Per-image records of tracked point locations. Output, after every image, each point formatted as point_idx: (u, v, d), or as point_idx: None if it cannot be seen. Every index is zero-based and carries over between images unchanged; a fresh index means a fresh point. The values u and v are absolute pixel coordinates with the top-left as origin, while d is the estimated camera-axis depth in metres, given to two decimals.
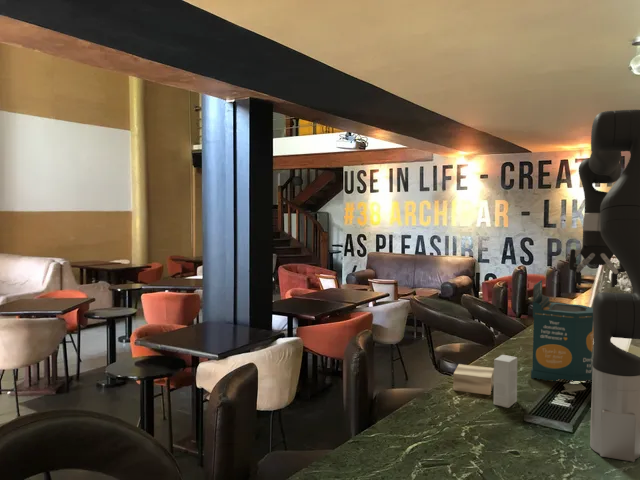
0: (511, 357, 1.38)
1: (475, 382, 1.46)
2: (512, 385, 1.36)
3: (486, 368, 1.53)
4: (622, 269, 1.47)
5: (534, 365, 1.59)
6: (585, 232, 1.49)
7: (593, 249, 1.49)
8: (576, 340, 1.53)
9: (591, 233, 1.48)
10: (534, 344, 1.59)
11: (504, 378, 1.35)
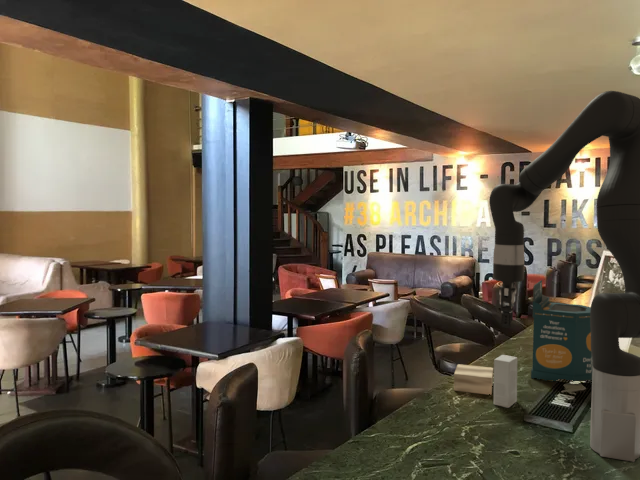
0: (511, 357, 1.38)
1: (476, 382, 1.46)
2: (512, 385, 1.36)
3: (486, 368, 1.53)
4: None
5: (534, 365, 1.59)
6: (515, 267, 1.33)
7: (512, 284, 1.35)
8: (576, 340, 1.53)
9: (521, 267, 1.33)
10: (534, 344, 1.59)
11: (504, 378, 1.35)
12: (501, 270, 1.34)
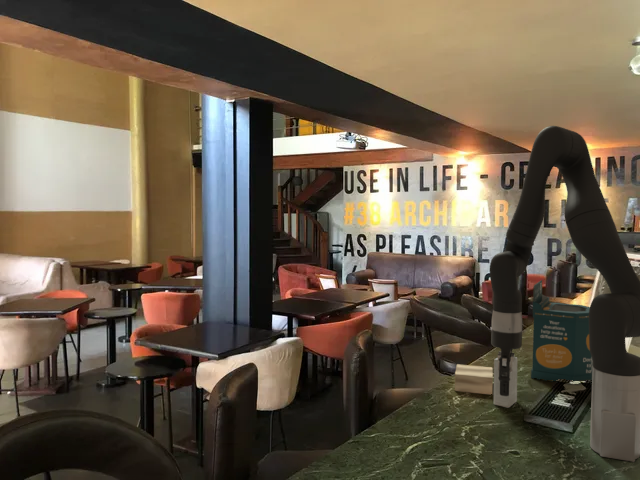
0: None
1: (477, 382, 1.46)
2: (512, 385, 1.36)
3: (485, 368, 1.53)
4: None
5: (534, 365, 1.59)
6: (513, 335, 1.34)
7: (510, 351, 1.36)
8: (576, 340, 1.53)
9: (519, 335, 1.34)
10: (534, 344, 1.59)
11: None
12: (500, 338, 1.35)
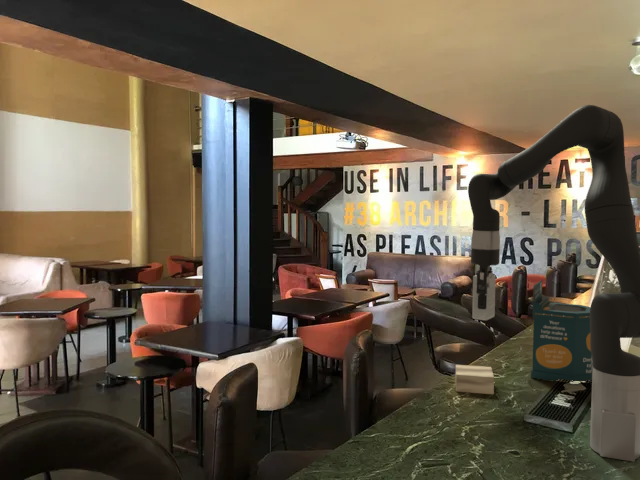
0: None
1: (478, 382, 1.46)
2: (490, 300, 1.45)
3: (484, 368, 1.53)
4: None
5: (534, 365, 1.59)
6: (491, 251, 1.42)
7: (488, 268, 1.45)
8: (576, 340, 1.53)
9: (497, 252, 1.43)
10: (534, 344, 1.59)
11: None
12: (478, 255, 1.43)
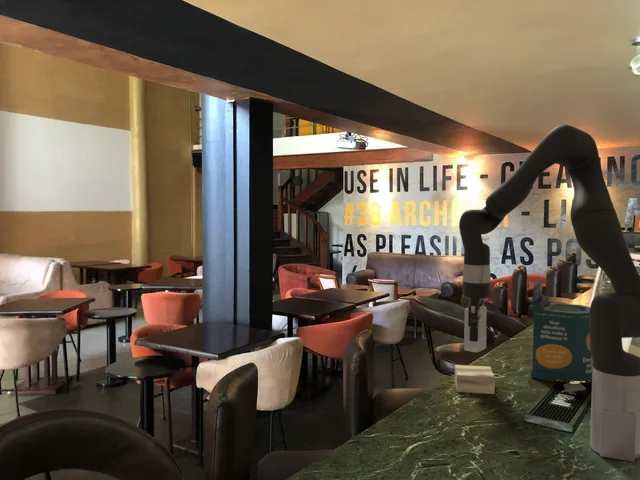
0: None
1: (479, 382, 1.46)
2: (481, 332, 1.48)
3: (483, 367, 1.54)
4: None
5: (534, 365, 1.59)
6: (481, 285, 1.46)
7: (479, 301, 1.48)
8: (576, 340, 1.53)
9: (487, 285, 1.46)
10: (534, 344, 1.59)
11: None
12: (469, 288, 1.47)
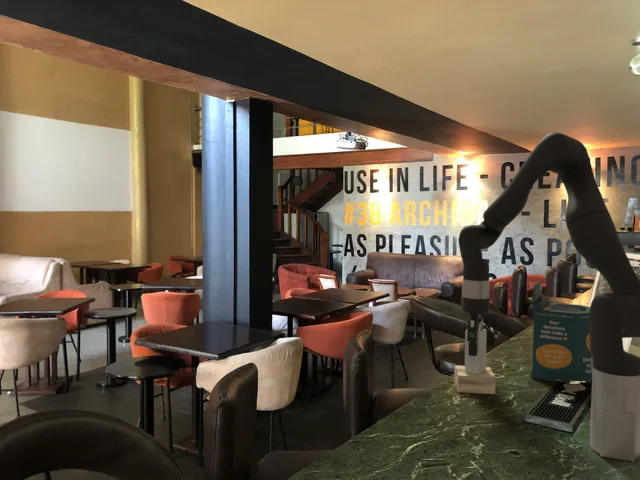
0: (481, 329, 1.51)
1: (480, 382, 1.46)
2: (482, 354, 1.48)
3: None
4: None
5: (534, 365, 1.59)
6: (481, 300, 1.46)
7: (478, 316, 1.49)
8: (576, 340, 1.53)
9: (486, 301, 1.47)
10: (534, 344, 1.59)
11: None
12: (468, 303, 1.47)
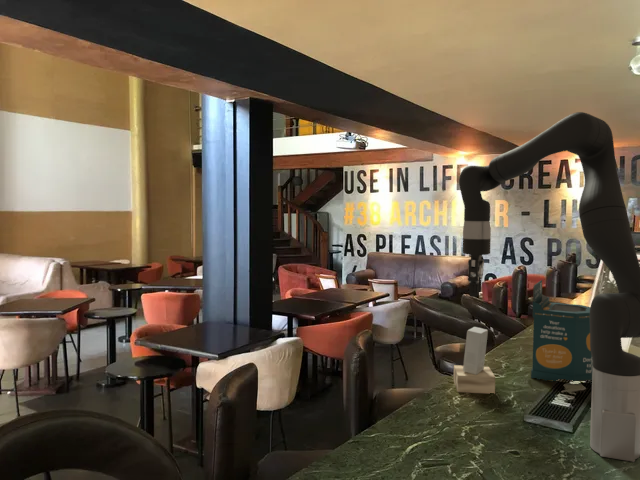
0: (482, 329, 1.50)
1: (479, 382, 1.46)
2: (481, 354, 1.48)
3: None
4: (482, 274, 1.55)
5: (534, 365, 1.59)
6: (482, 241, 1.45)
7: (479, 257, 1.48)
8: (576, 340, 1.53)
9: (487, 241, 1.46)
10: (534, 344, 1.59)
11: (475, 348, 1.47)
12: (469, 244, 1.47)
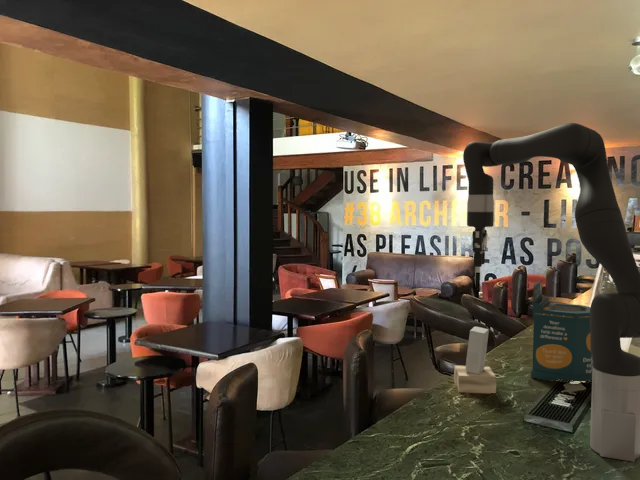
0: (484, 329, 1.50)
1: (481, 382, 1.46)
2: (483, 354, 1.49)
3: None
4: (486, 246, 1.62)
5: (534, 365, 1.59)
6: (485, 213, 1.52)
7: (483, 230, 1.55)
8: (576, 340, 1.53)
9: (491, 214, 1.53)
10: (534, 344, 1.59)
11: (478, 348, 1.47)
12: (474, 217, 1.53)
